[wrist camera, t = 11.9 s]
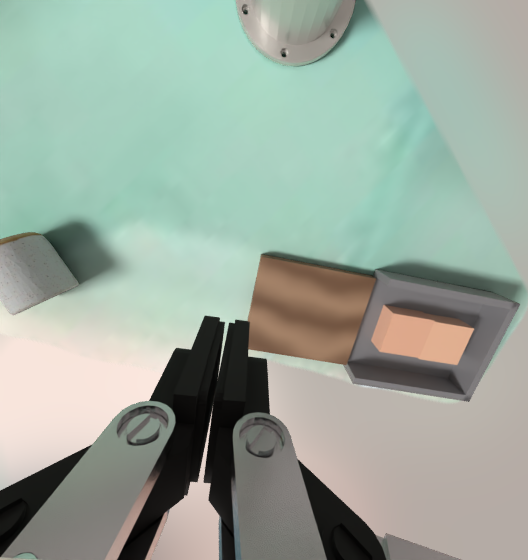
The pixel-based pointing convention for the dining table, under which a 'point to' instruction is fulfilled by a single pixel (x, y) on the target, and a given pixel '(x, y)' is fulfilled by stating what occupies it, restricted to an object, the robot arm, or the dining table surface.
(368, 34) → the dining table surface
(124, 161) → the dining table surface
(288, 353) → the board
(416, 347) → the tile front
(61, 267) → the ceramic mug
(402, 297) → the tray
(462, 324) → the tile rear
